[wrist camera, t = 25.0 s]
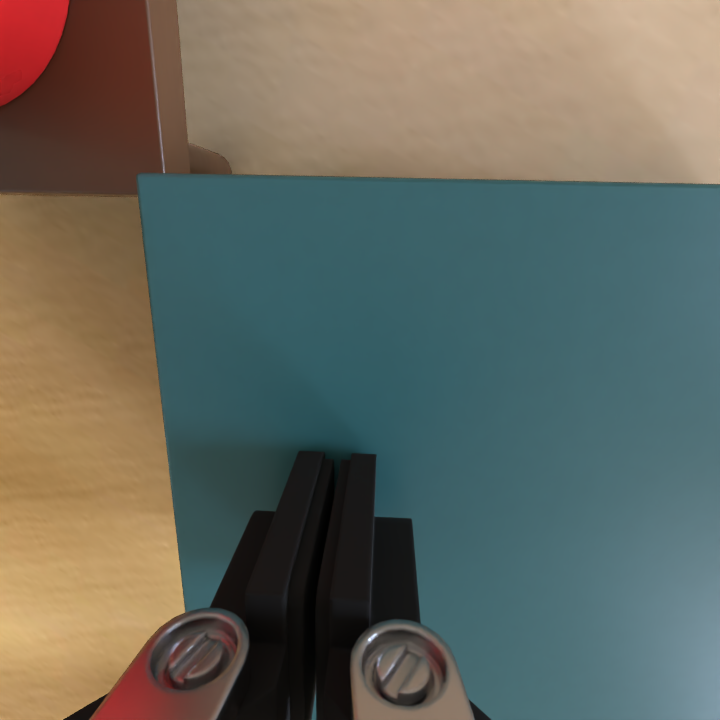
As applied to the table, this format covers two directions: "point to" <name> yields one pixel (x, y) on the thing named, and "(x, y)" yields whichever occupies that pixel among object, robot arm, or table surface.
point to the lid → (466, 408)
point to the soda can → (27, 42)
